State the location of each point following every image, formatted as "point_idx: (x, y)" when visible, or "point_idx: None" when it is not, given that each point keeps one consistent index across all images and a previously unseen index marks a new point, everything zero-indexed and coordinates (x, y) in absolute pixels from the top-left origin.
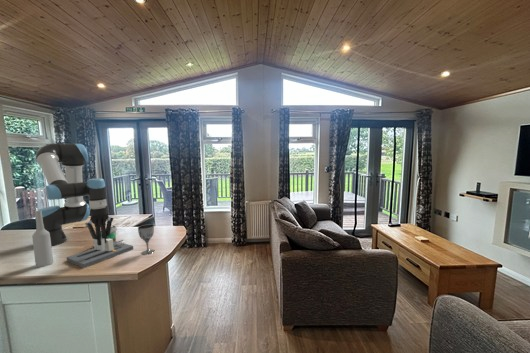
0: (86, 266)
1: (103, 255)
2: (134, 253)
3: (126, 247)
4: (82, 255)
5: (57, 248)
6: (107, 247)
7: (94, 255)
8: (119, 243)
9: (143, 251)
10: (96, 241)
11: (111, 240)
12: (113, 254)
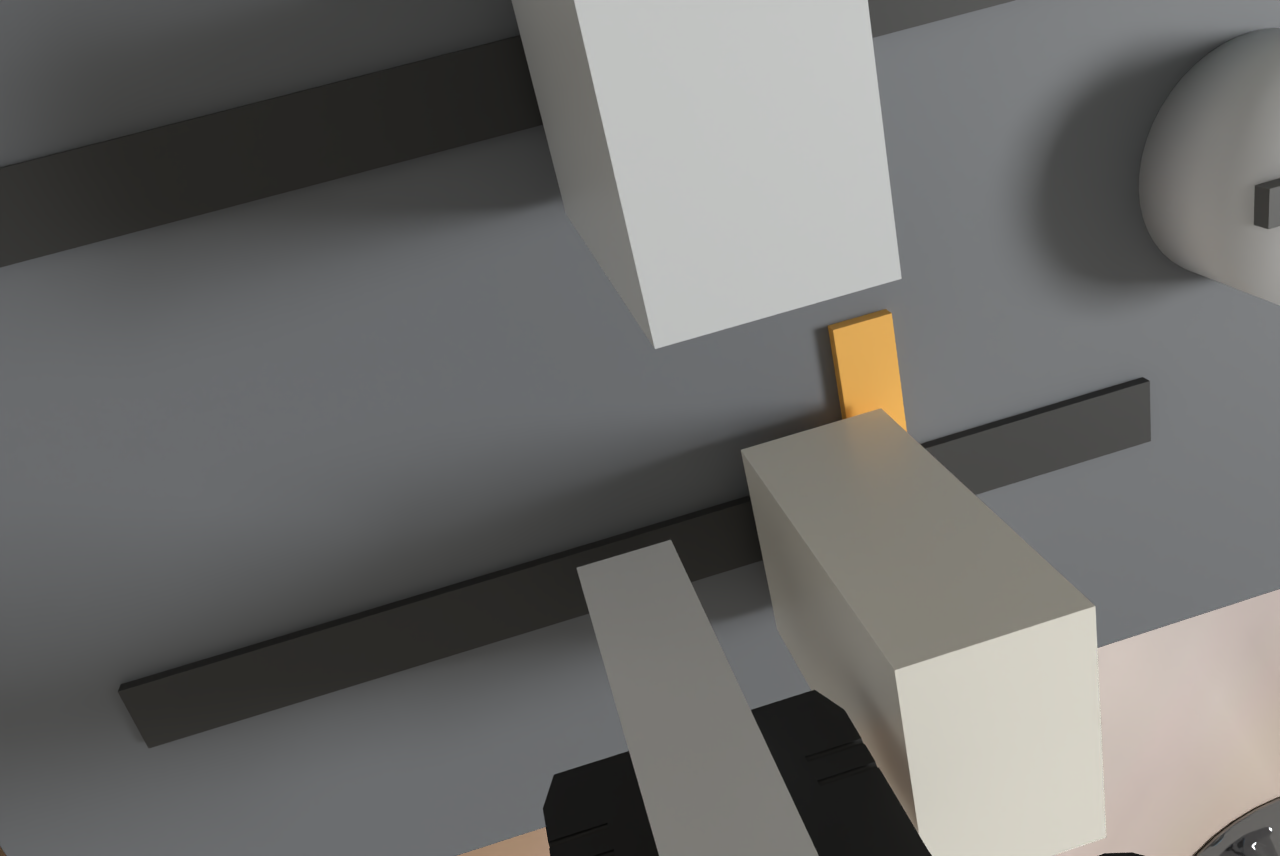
0: None
1: (589, 729)
2: (1124, 787)
3: (1189, 560)
4: (45, 253)
5: None
6: (801, 629)
7: (395, 555)
8: (1234, 281)
9: (1262, 833)
10: (616, 261)
11: (1033, 838)
12: None
